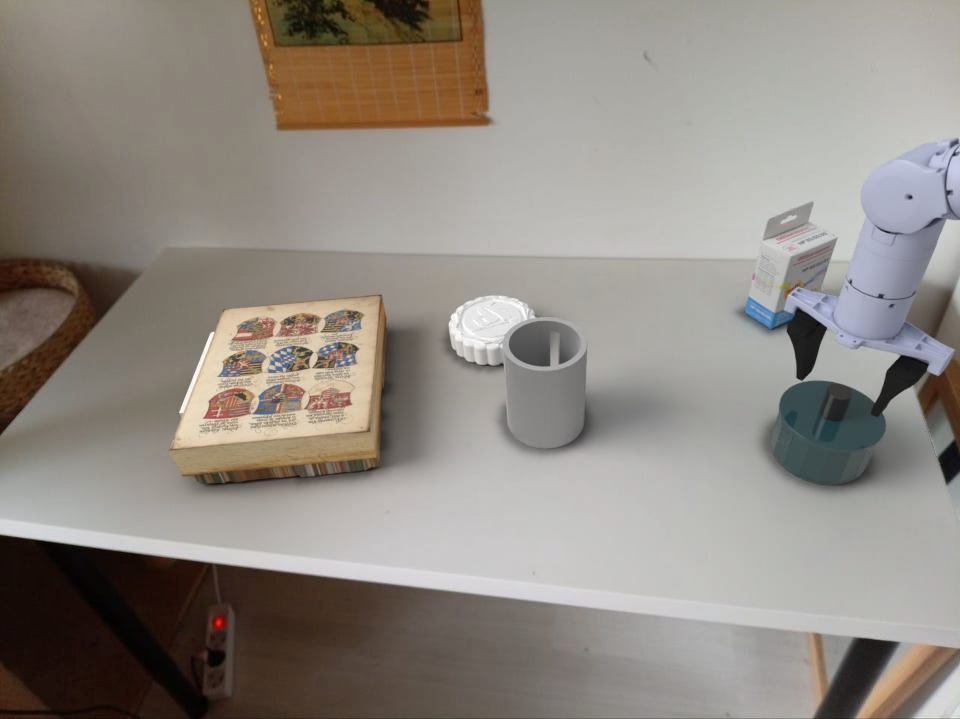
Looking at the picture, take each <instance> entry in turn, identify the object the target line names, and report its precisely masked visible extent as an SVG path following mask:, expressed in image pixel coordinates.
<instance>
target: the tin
mask: <svg viewBox="0 0 960 719" xmlns="http://www.w3.org/2000/svg"><path fill="white" fill-rule="evenodd" d="M770 447H771V450H772V453H773V456H774V457H775V459H776V461H778V463H779V464H780V465H781V466H782V467H783V468H784V469H785V470H787V471H788V472H789V473H791V474H793V475H794V476H796V477H798V478H799V479H801V480H804V481H807V482H811V483H813V484H818V485H824V486H839V485H845V484H847V483H851V482H853V481H855V480H857V478H859V477H860V476H861V475H862V474H863V472H864V471H866V468H867V466H868V464H869V462H870V460H871V457H872V456H873V453H874V451H875V448H876V447H877V445H875V446H874V447H872V448H870V449H868V450H865V451H862V452H857V453H837V452H831V451H826V450H823V449H820V448H817V447H814V446H812V445H810V444H808V443H806V442H804V441H802V440H801V439H799V438H798V437H797V436H795V435H794V434H793V433H792V432H791V431H790V430H789V429H788V428H787V427H786V426H785V424H784V423H783V421H782V419H781V417H780V414H779V413H778V414H777V417H776V420H775V424H774V427H773V431H772V434H771V437H770Z"/></svg>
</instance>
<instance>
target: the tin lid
mask: <svg viewBox="0 0 960 719" xmlns="http://www.w3.org/2000/svg"><path fill="white" fill-rule="evenodd" d="M875 402H876V401H874V400H872V399H871V398H870V397H869V396H868V395H866V394H864V393H863V392H861V391H859V390H857V389H855V388H853V387H851V386H849V385H846V384H844V383H839V382H835V381H829V380H819V379H818V380H817V379H816V380H814V379H813V380H807V381H801V382H799V383H796V384H794V385H792V386H790V387H789V388H787V389H785V391H784V392H783V393H782V395H781V397H780V399H779V403H778V414H780V417H781V419H782V421H783V423H784V424H785V426H786V427H787V428H788V429H789V430H790V431H791V432H792V433H793V434H794V435H795V436H797V437H798V438H799V439H801V440H802V441H804V442H806V443H808V444H810V445H812V446H814V447H817V448H820V449H823V450H826V451H831V452H837V453H857V452H862V451H865V450H868V449H870V448H872V447H874V446H875V445H876V446H877V445H878V444H879V443H880V442H881V441H882V439H883V438H884V436H885V433H886V431H887V420H886V418H885V414H884V413H883V412H882V413H881V414H880V415H879V417H875V416H873V415H871V414H870V413H871V410H872V408H873V406H874V404H875Z"/></svg>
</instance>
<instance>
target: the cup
mask: <svg viewBox="0 0 960 719" xmlns="http://www.w3.org/2000/svg"><path fill="white" fill-rule="evenodd" d="M551 332H553V333H558V356H557V357H558V359H557V360H558V363H557V365H551ZM587 359H588V339H587V336H586V334H585V333H584V331H583V330H582V329H581V328H580V327H579V326H578V325H576V324H574V323H573V322H571V321H569V320H566V319H562V318H560V317H553V316H552V317H551V316H550V317H549V316H540V317H536V318H532V319H528V320H525V321H523V322H520V323H518V324H516V325H515V326H513V327H512V328H510V329H509V330H508V332H507V333H506V334H505V336H504V339H503V360H504V364H503V373H504V388H505V405H506V419H507V420H506V421H507V427H508V430H509V431H510V433H511V435H512V436H513V437H514V438H515V439H516V440H518V441H519V442H520V443H522V444H523V445H526V446H528V447H532V448H537V449H545V450H548V449H556V448H560V447H564V446H566V445H568V444H570V443H571V442H573V441H574V440H575V439H576V438H578V437H579V436H580V434H581V433H582V431H583V429H584V425H585V410H586V385H587V364H588V363H587V362H588V360H587Z"/></svg>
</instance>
